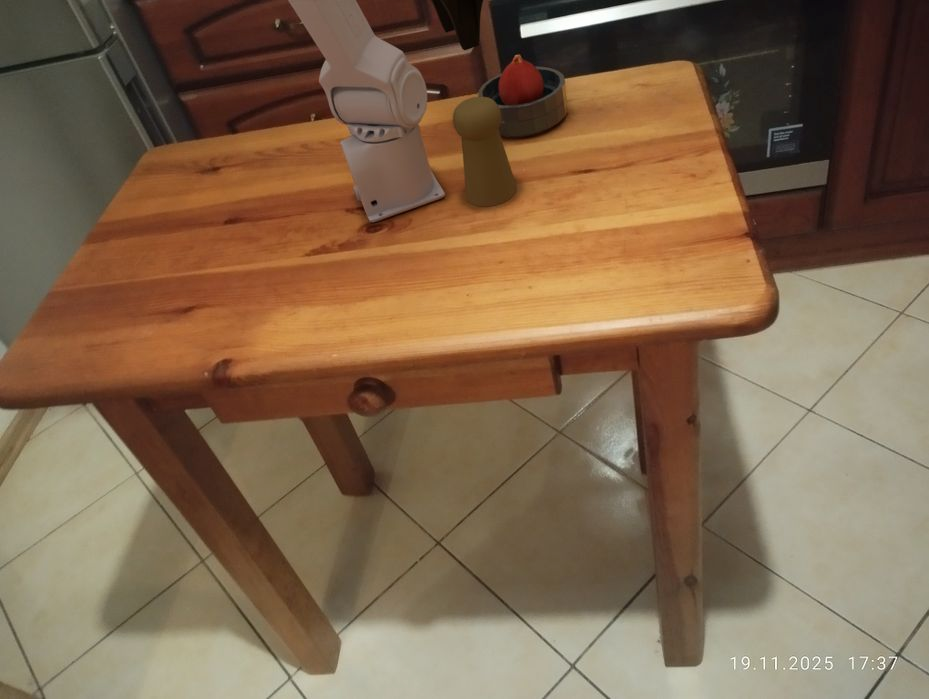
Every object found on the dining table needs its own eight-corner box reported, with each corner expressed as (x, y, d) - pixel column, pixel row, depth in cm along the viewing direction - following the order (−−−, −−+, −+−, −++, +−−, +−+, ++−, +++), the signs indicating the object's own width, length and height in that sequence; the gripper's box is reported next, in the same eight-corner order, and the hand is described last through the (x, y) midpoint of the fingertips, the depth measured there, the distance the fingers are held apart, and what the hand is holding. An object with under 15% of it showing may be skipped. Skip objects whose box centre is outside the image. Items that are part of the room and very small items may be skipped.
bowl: (501, 149, 86) (495, 116, 82) (473, 116, 94) (466, 85, 90) (582, 121, 87) (579, 87, 83) (547, 90, 95) (543, 58, 91)
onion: (496, 113, 91) (486, 54, 86) (535, 99, 92) (527, 40, 87) (513, 130, 87) (504, 69, 82) (554, 115, 88) (547, 53, 82)
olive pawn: (457, 190, 81) (437, 103, 73) (502, 171, 82) (486, 83, 74) (479, 213, 76) (459, 122, 69) (526, 192, 77) (511, 101, 70)
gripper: (491, -82, 72) (510, 45, 82) (451, -102, 83) (472, 13, 92) (429, -63, 72) (456, 63, 81) (397, -85, 82) (424, 29, 92)
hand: (461, 38), depth 87 cm, fingers open, 7 cm apart
